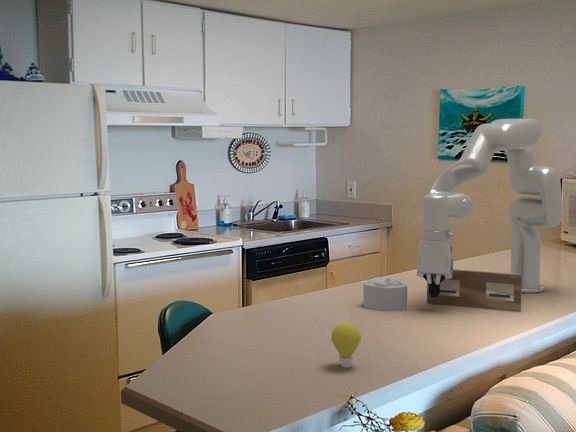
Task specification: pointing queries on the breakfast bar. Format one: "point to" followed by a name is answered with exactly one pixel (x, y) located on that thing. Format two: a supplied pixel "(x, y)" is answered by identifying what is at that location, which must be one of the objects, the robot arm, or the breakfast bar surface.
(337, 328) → the light bulb
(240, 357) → the breakfast bar surface
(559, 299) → the breakfast bar surface
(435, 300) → the wooden panel
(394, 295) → the lumpy-topped squat cylinder
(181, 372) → the breakfast bar surface
